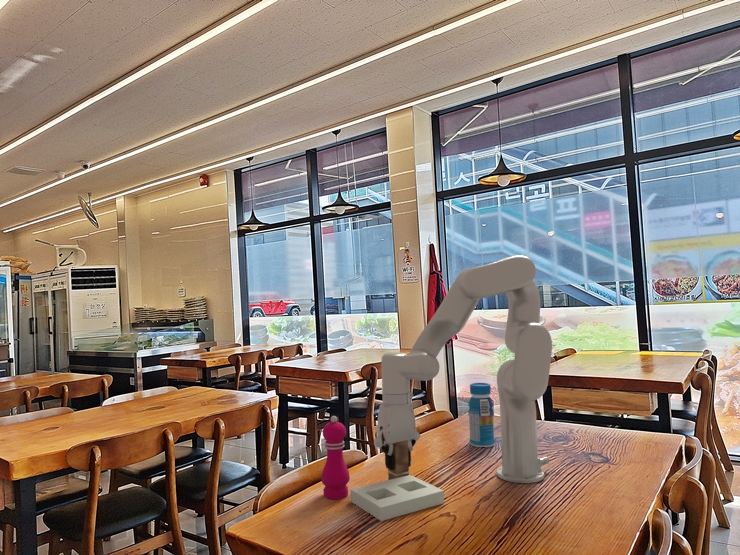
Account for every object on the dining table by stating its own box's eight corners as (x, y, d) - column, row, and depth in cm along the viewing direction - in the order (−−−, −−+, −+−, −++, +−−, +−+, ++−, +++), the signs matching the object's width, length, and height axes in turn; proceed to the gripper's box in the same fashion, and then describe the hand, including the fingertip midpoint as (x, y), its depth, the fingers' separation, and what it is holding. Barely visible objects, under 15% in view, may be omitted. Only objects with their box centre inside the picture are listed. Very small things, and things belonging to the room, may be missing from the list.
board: (410, 486, 142) (410, 474, 142) (444, 503, 130) (443, 490, 130) (350, 501, 132) (350, 489, 132) (381, 521, 120) (380, 507, 120)
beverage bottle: (465, 446, 177) (463, 385, 178) (474, 440, 184) (472, 381, 185) (490, 449, 173) (488, 386, 174) (498, 443, 180) (496, 383, 181)
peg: (400, 479, 147) (399, 435, 148) (409, 483, 144) (408, 438, 144) (388, 482, 145) (387, 437, 146) (396, 486, 142) (395, 440, 142)
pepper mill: (346, 501, 133) (344, 419, 133) (318, 499, 134) (316, 419, 135) (353, 490, 140) (350, 413, 140) (326, 489, 141) (324, 412, 142)
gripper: (413, 393, 153) (415, 458, 152) (362, 400, 144) (364, 469, 143) (429, 397, 146) (431, 464, 146) (377, 405, 138) (379, 477, 137)
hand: (398, 466), depth 145 cm, fingers open, 4 cm apart
